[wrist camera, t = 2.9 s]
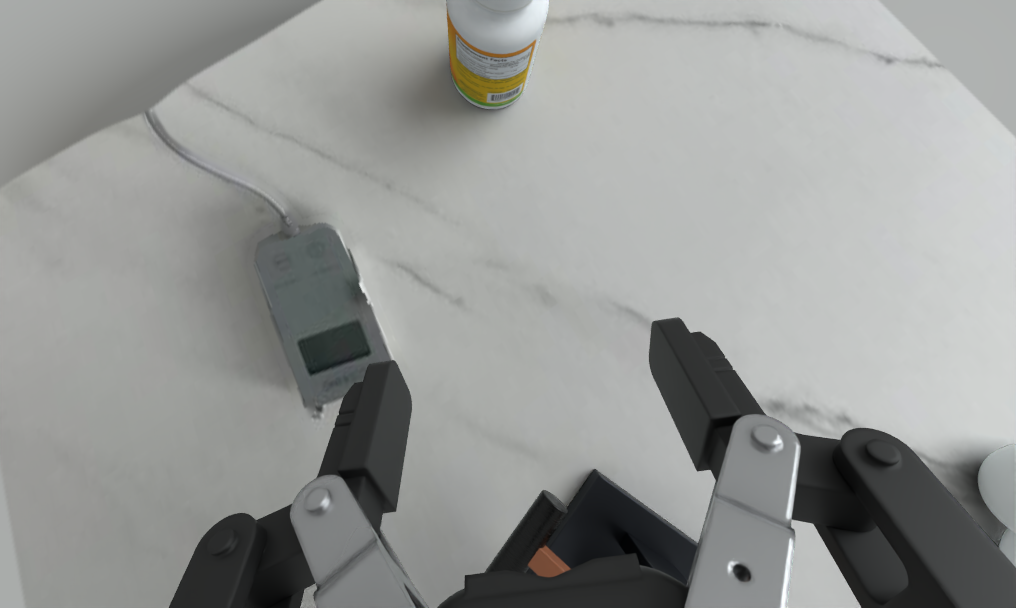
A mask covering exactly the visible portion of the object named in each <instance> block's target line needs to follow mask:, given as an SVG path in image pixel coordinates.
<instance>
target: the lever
mask: <svg viewBox="0 0 1016 608" xmlns="http://www.w3.org/2000/svg"><path fill="white" fill-rule="evenodd" d="M567 513H568V510H567V508H566V507H565V505H564V504H563V503H562V502H561V501H560V500H559V499H558V498H557V497H555V496H554V495H553V494H551V493H550V492H548V491H546V490H543V491H542V492H541V493H540V494H539V496H538V497H537V499H536V500H535V502H534V503H533V504H532V506H531V507H530V509H529V510H528V512H527V513H526V514H525V516H524V517H523V519H522V520H521V521H520V523H519V524H518V526H517V527H516V529H515V530H514V531H513V533H512V534H511V536H510V537H509V538H508V540H507V541H506V543H505V544H504V546H503V547H502V548H501V550H500V551H499V553H498V554H497V556H496V557H495V558H494V560H493V561H492V563H491V564H490V565H489V567H488V568H487V570H486V571H485V573H488V572H496V571H503V570H509V571H515V572H520V573H526V572H527V571H528V569H529V568H531V569H532V570H533V571H534V572H535V573H536V574H537V575H538V576H544V577H554V576H557V575H559V574H561V573H563V572H565V571H568V570H570V568H569V567H568V566H567V565H566V564H565V563H564V562H563V561H562V560H561V559H560V558H559V557H558V556H556V555H555V554H554V553H553V552H552V551H551V550H550V549H549V548H548V547H547V546H546V543H547V542H548V540H549V539H550V538H551V536H552V535H553V533H554V532H555V530H556V529H557V527H558V526H559V525H560V523H561V522H562V520H563V519H564V517H565V516H566V515H567Z"/></svg>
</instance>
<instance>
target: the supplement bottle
mask: <svg viewBox="0 0 1016 608" xmlns="http://www.w3.org/2000/svg"><path fill="white" fill-rule="evenodd" d="M446 6H447V22H448V39H449V56H450V68H451V75H452V79H453V82H454V84H455V86H456V88H457V90H458V91H459V92H460V94H461V95H462V96H463V97H464V98H465V99H466V100H467V101H469V102H470V103H472V104H473V105H476V106H478V107H481V108H485V109H500V108H504V107H507V106H509V105H511V104H513V103H514V102H515V101H516V100H518V99H519V98H520V96H521V95H522V94H523V92H524V91H525V89H526V87H527V84H528V81H529V78H530V75H531V71H532V68H533V64H534V60H535V57H536V53H537V50H538V46H539V43H540V39H541V36H542V32H543V29H544V25H545V22H546V17H547V13H548V7H549V0H446Z"/></svg>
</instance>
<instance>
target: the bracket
mask: <svg viewBox="0 0 1016 608" xmlns="http://www.w3.org/2000/svg"><path fill="white" fill-rule="evenodd" d="M567 510H568V513H567V515H566V516H565V517H564V519H563V520H562V522H561V523H560V525H559V526H558V527H557V529H556V530H555V532H554V533H553V535H552V536H551V538H550V539H549V540H548V542H547V543H546V546H547V547H548V548H549V549H550V550H551V551H552V552H553V553H554V554H555V555H556V556H558V557H559V558H560V559H561V560H562V561H563V562H564V563H565V564H566V565H567V566H568V567H569V568H570V569H572V568H574V567H576V566H579V565H581V564H583V563H585V562H587V561H590V560H592V559H595V558H603V557H610V556H618V555H626V554H633V553H636V555H637V558H638V562H639V565H641V566H646V567H650V568H653V569H656V570H659V571H661V572H664V573H666V574H668V575H670V576H672V577H674V578H675V579H677V580H679V581H680V582H682V583H683V584H684V585H686V584H687V580H688V577H689V573H690V570H691V566H692V563H693V560H694V556H695V553H696V550H697V546H698V543H697V542H695V541H694V540H693V539H691V538H690V537H688V536H687V535H686V534H684V533H683V532H681V531H680V530H679V529H677V528H676V527H675V526H673V525H672V524H670V523H669V522H668V521H666V520H665V519H663V518H662V517H661V516H659V515H658V514H657V513H655V512H654V511H652V510H651V509H650V508H648V507H647V506H646V505H644V504H643V503H641V502H640V501H639V500H637V499H636V498H634V497H633V496H632V495H630V494H629V493H628V492H626V491H625V490H623V489H622V488H621V487H619V486H618V485H616V484H615V483H614V482H612V481H611V480H610V479H608V478H607V477H605V476H604V475H603V474H601V473H600V472H598V471H597V470H596V469H594V470H593V472H592V473H591V474H590V476H589V477H588V479H587V480H586V482H585V483H584V484H583V486H582V487H581V489H580V490H579V492H578V493H577V495H576V496H575V497H574V499H573V500H572V502H571V503H570V505H569V506H568V507H567ZM526 574H532V575H537V574H536V573H535V572H534V571H533V570H532V569H531V568H529V569H528V571H527V572H526Z"/></svg>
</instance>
